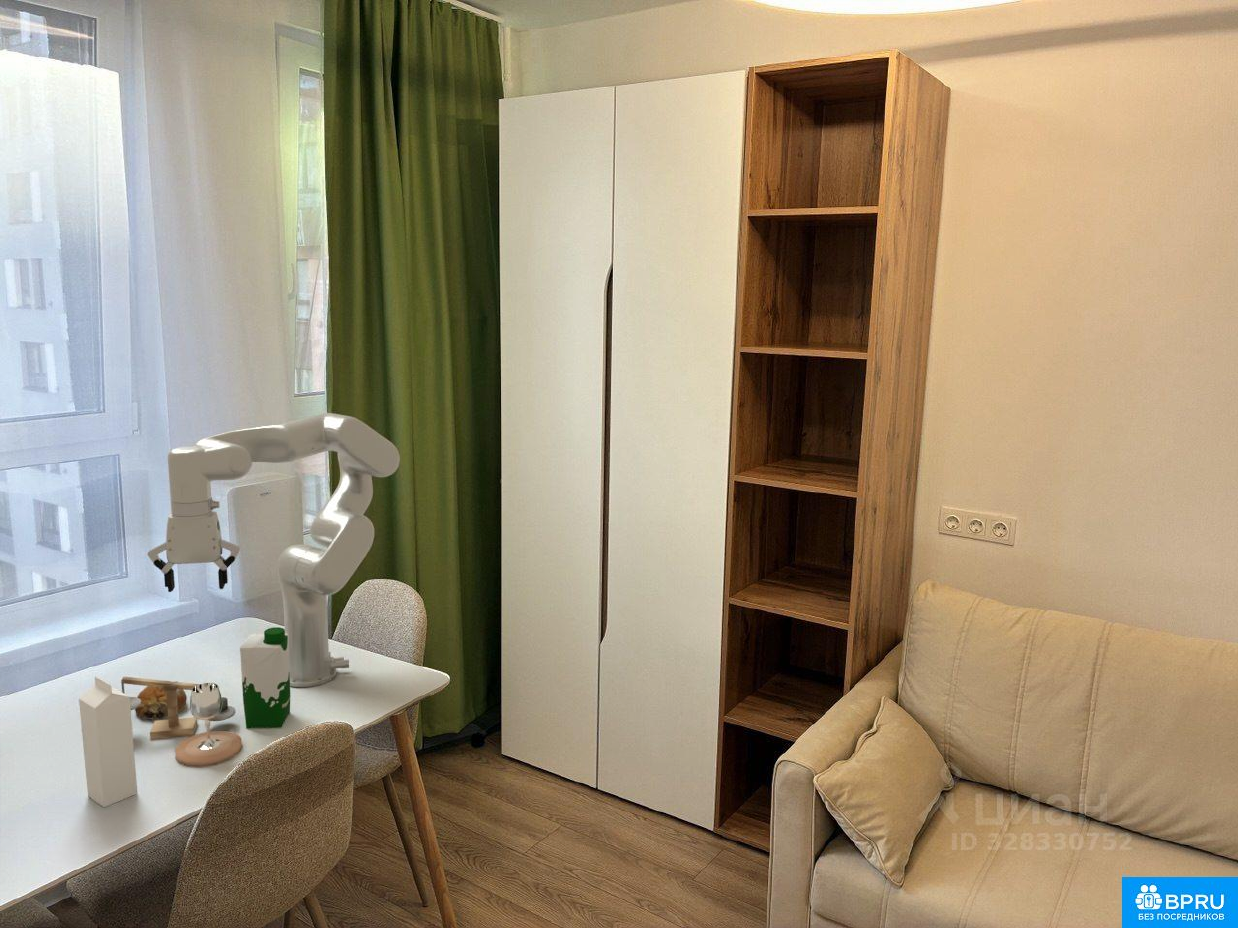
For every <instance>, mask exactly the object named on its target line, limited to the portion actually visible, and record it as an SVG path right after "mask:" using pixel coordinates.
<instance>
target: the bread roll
mask: <svg viewBox="0 0 1238 928" xmlns="http://www.w3.org/2000/svg"><path fill="white" fill-rule="evenodd" d="M136 697H137V698H139V699H140V700H141V705H140V706H139V707H138V708H136V709H134V711H135V714H136V715H137V716H138V717H139V718H141V719H146V720H160V719H163V718H168V709H167V695H166V691H164V687H154V686H145V687H144V688H143V690H141V691H140V692H139V694H137V696H136ZM187 697H188V696H187V694H186V690H184V689H177V704H178V714H179V712H181V711H182V710H184V709H185V707H186V706H187V703H188V702H187Z"/></svg>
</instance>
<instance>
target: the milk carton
mask: <svg viewBox="0 0 1238 928" xmlns="http://www.w3.org/2000/svg"><path fill="white" fill-rule="evenodd" d="M239 652H240V653H239V654H240V669H241V687H242V701H243V702H242V703H243V711H244V719H245V726H246V727H245V728H246V729H282V728H283V726H284V724H285V722H286V720H287V718H288V717H289V715H290V713H291V686H290V672H289V634H285V628H284V627H276V626H274V627H270V628H267V629H265V630H264V633H250V635H249V636H248V637H247V638H246V640H245V641H244V642H243V643H242V644H241V646H240V647H239Z"/></svg>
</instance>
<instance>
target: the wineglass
mask: <svg viewBox="0 0 1238 928" xmlns="http://www.w3.org/2000/svg"><path fill="white" fill-rule="evenodd" d="M198 684H199V683H198ZM218 686H219V685H218V684H217V683H216V682H215V683H213V682H205V683H204V682H203V683H201V684H199V685H197V686H195V687H194V688H193V689H192V690H191V693H190V699H189V700H190V701H189V708H190V712H191V715H192V716H193V717H195V718H197V720H200V721H201V720H202V721H204V727H205V729H206V732H207V740H203V741H201V742H199V743H198V744H197V746H196V747H197V749H199V750H212V749H215V748H217V747H219V746H220V745H221V741H220V740H218V739H210V734H209V732H210V726H211V721H210V720H209V719H212V718H214V717H215V716H217V715H218V714H219V713H220V711H221V709H222V697H223V696H222V693H221V690H220V686H219V687H218Z"/></svg>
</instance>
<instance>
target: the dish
mask: <svg viewBox="0 0 1238 928" xmlns="http://www.w3.org/2000/svg"><path fill="white" fill-rule="evenodd" d="M209 734H210V739H218V740H220V741H221V745H220V746H219V747H217V748H215V749H212V750H199V749H197V747H196V746H197V744H198V743H199V742H201V741H203V740H207V731H204V732H201V733H197V734H194V735H190V736H189V737H187V738H185V739H183V740H182V741H181V742H179V743H178V744H177V746H176V747H175V750H174V752H175V753H174V755H175V760H176V761H177V762H178V763H179V764H180V765H183V766H186V767H194V768H195V767H200V768H201V767H209V766H215V765H218V764H221V763H224V762H227V761H230V760H231V759H233V758H234V757H235V756H237V755H238V754H239V753H240V752H241V751H242V748H243V741H242V737H241V736H240V735H239V734H238V733H235V732H232V731H228V730H211V731H210V730H209Z"/></svg>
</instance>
